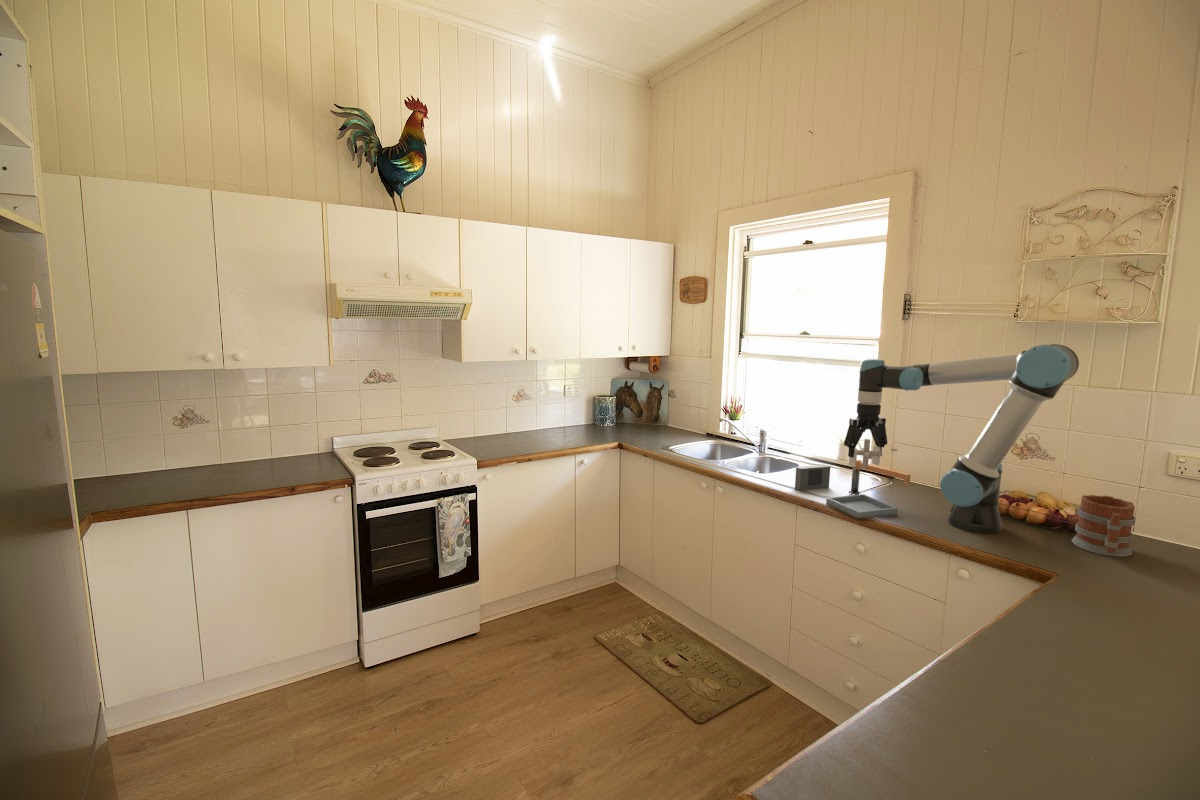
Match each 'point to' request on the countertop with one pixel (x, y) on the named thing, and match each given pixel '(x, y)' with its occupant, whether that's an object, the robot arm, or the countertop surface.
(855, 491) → the post
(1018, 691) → the countertop surface
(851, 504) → the tray
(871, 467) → the tan bar handle
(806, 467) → the socket block
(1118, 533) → the mug
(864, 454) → the pipe connector
